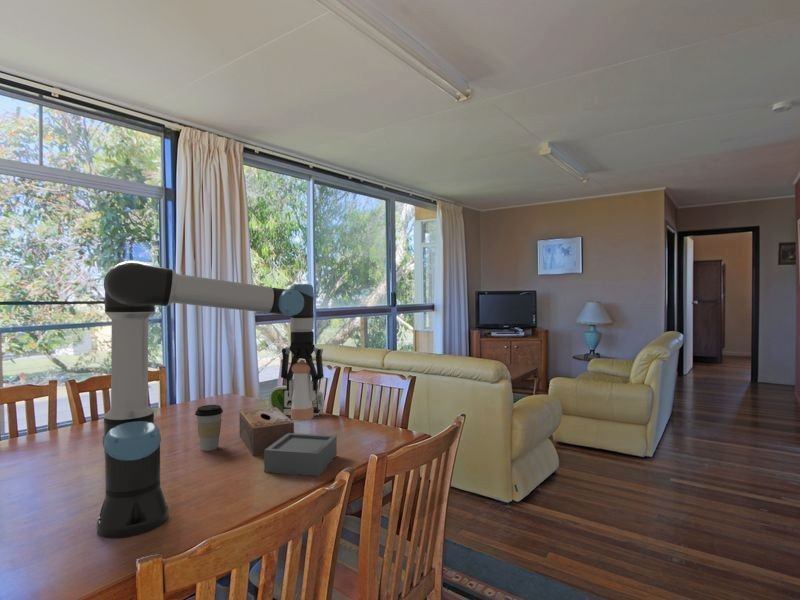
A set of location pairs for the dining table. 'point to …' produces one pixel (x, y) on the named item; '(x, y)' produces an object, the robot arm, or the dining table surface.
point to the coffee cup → (209, 426)
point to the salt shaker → (301, 392)
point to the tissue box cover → (263, 428)
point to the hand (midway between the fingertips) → (302, 399)
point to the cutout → (282, 402)
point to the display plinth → (300, 454)
